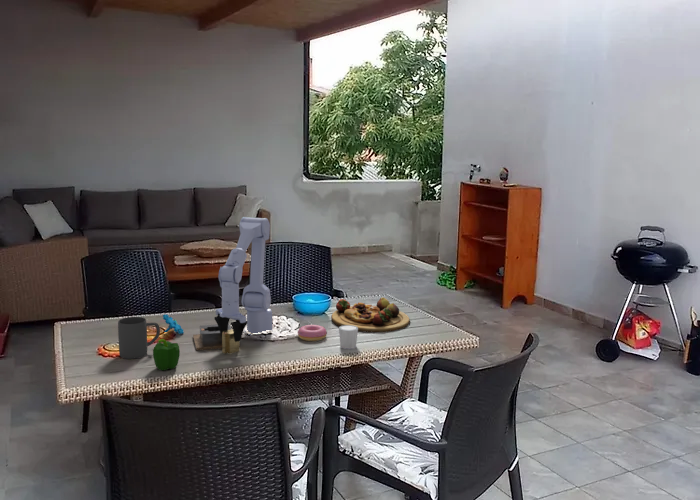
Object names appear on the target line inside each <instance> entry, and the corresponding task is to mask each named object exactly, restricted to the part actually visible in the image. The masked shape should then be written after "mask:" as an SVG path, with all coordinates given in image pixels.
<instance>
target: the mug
mask: <svg viewBox="0 0 700 500" xmlns="http://www.w3.org/2000/svg"><path fill="white" fill-rule="evenodd" d="M150 326H155V328H156V329H155V330H156V334H155V336H154V337H153V338H152V339H151V340H149V341H148V329H147V327H150ZM160 328H161V327H160V325H159V324H158V323H157V322H147V318H145V317H141V316H129V317H124V318H121V319H119V320H118V322H117V331H118V332H117V336H118V351H119V352H118V353H119V357H120V358H122V359H127V360H134V359H135V360H136V359H140V358H143V357H146V356H147V355H148V346H149V347H150V346H151V345H153V344H154V343H155V342H156V341H158V340H159V337H160V334H161V333H160V332H161V329H160Z"/></svg>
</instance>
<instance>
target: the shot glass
mask: <svg viewBox="0 0 700 500" xmlns="http://www.w3.org/2000/svg"><path fill="white" fill-rule="evenodd" d="M338 333H339V345H340V348H342V349H346V350H352V349H356V348H357V347H356V346H357V343H358V342H357V341H358V333H359V332H358V327H356V326H353V325H344V326H340V327H339V326H338Z"/></svg>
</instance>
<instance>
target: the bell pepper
mask: <svg viewBox="0 0 700 500" xmlns="http://www.w3.org/2000/svg"><path fill="white" fill-rule="evenodd" d="M180 354H181V353H180V345H179V344H178V343H177V342H171V341H169V340H166V339H164V338H160V339H157V343H156V344H155V345H154V347H153V349H152V357H153V360H154V365H155V367H156V368H157V370H159V371H168V370H173V369H175V368H176V367H177V366H178V364H179V360H180Z"/></svg>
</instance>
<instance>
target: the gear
mask: <svg viewBox="0 0 700 500" xmlns="http://www.w3.org/2000/svg"><path fill="white" fill-rule="evenodd" d="M162 319H163V320H164V322H165V324H167V325H168V326H167V328H166V329H165V330H164V331H163V332H167V333H168V332H169V331H170V330H173V331H174V332H175V333H178V334H179V335H183V334H184V333H185V332H184V329H183V328H182V326H181V325H180V324H179V323H178V322H177V319H174V318H173V317H171V316H169V315H168V313H167V314H166V313H165V314H163V315H162Z"/></svg>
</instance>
